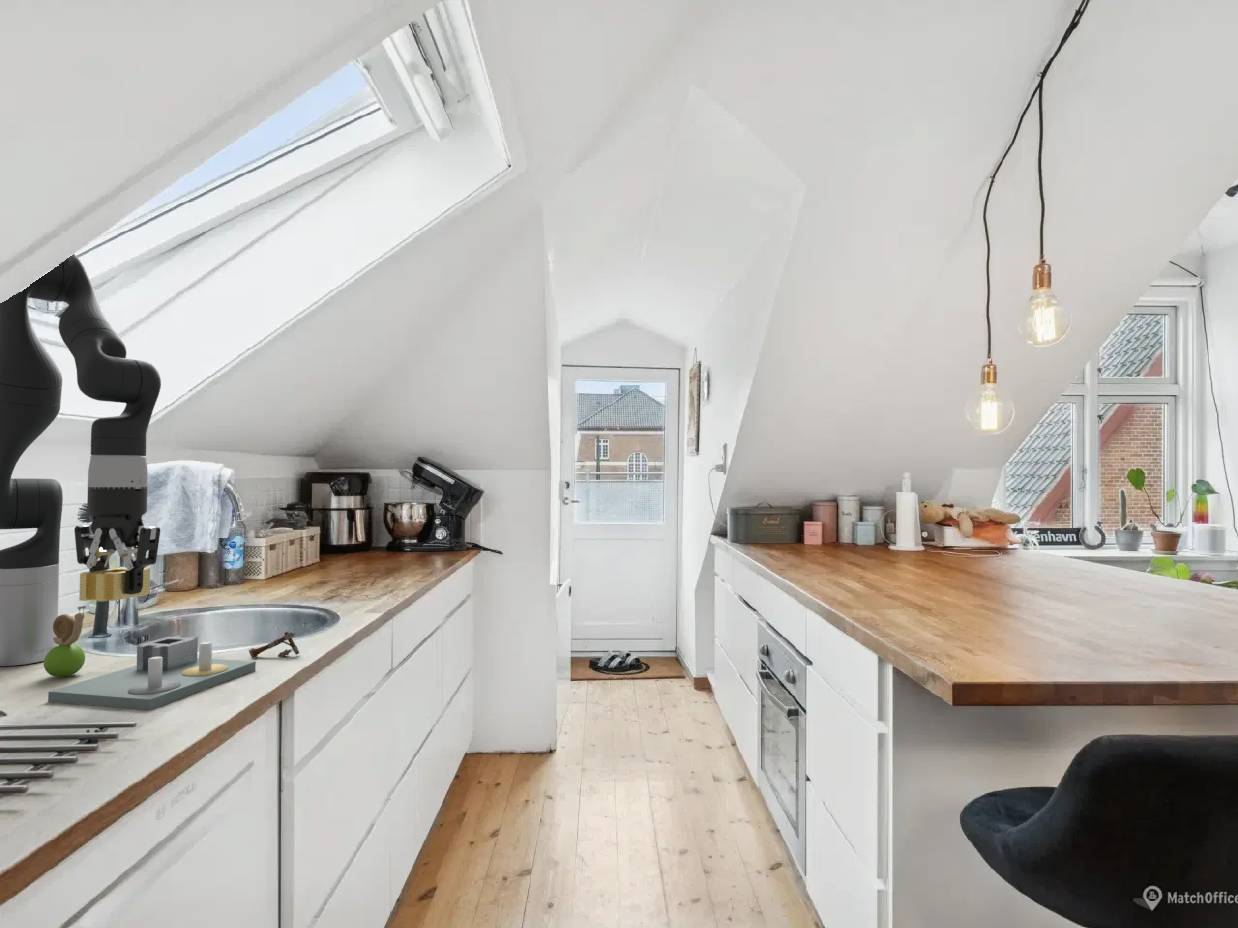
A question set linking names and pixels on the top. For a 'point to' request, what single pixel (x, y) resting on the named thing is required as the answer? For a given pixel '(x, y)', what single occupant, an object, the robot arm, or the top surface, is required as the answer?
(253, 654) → the brown grey angled piece
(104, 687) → the gear board
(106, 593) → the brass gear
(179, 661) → the grey hollow block
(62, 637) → the snail figurine
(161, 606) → the top surface
